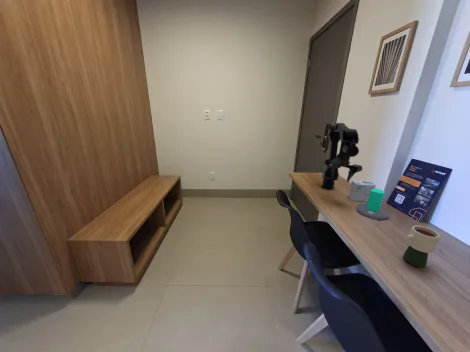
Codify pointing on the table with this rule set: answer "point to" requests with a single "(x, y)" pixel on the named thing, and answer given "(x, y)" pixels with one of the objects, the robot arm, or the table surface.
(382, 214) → the charcoal plinth
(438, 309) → the table surface
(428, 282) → the table surface
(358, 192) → the light bulb box
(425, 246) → the character mug
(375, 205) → the candle
